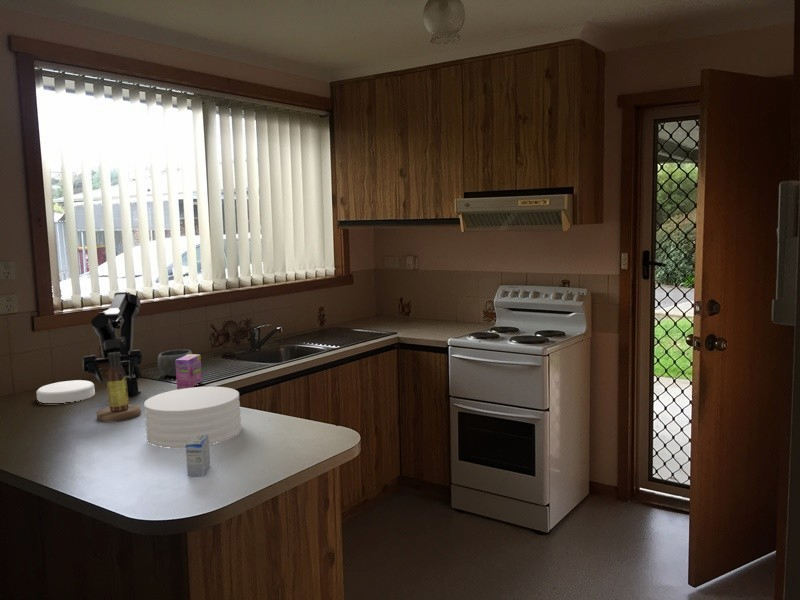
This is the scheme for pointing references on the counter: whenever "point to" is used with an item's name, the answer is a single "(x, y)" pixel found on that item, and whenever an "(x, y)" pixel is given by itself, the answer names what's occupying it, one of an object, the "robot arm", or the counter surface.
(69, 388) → the container
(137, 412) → the stand
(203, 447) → the medicine box
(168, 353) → the bowl
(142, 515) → the counter surface
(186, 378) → the box
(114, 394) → the sauce bottle
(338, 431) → the counter surface
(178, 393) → the plate stack
